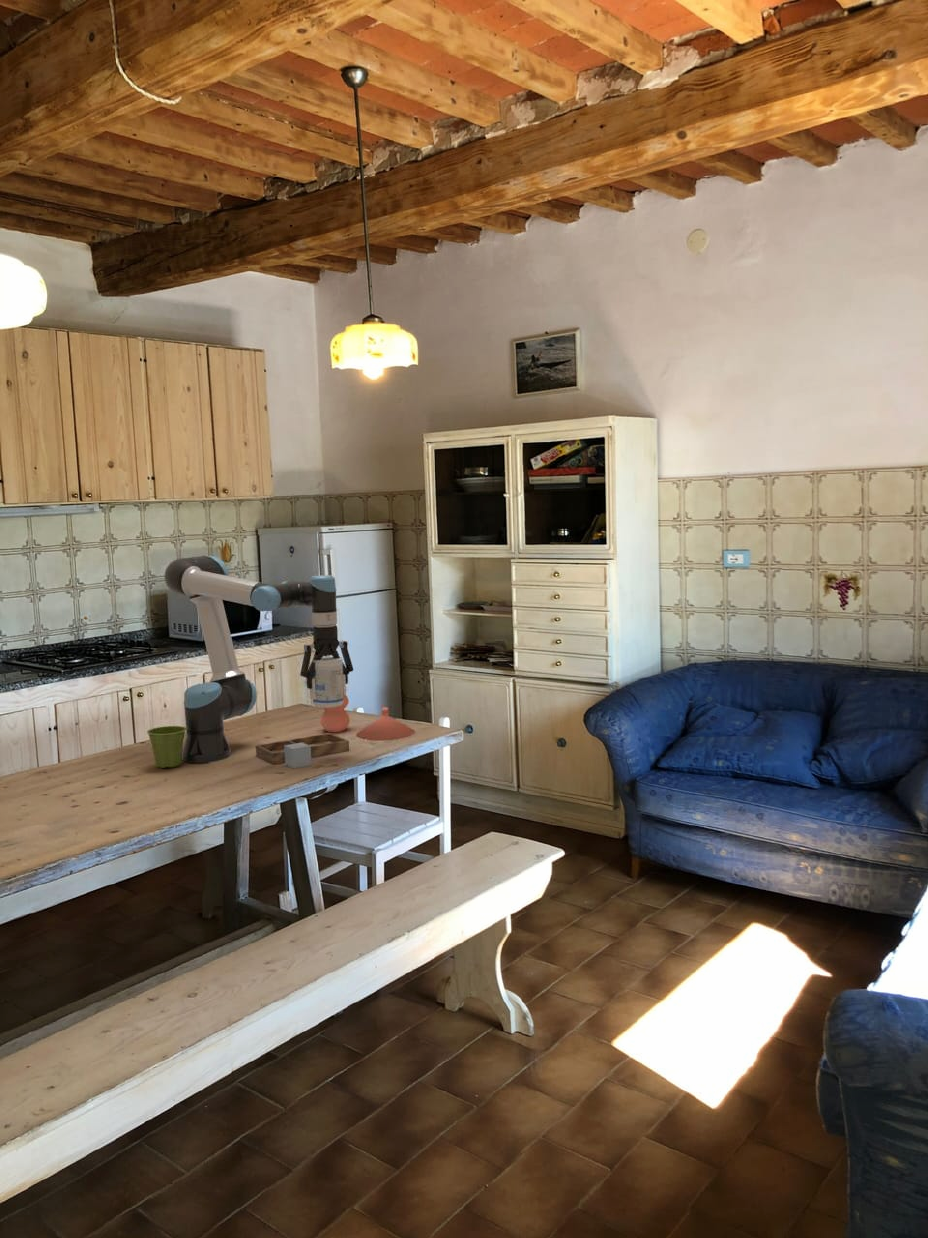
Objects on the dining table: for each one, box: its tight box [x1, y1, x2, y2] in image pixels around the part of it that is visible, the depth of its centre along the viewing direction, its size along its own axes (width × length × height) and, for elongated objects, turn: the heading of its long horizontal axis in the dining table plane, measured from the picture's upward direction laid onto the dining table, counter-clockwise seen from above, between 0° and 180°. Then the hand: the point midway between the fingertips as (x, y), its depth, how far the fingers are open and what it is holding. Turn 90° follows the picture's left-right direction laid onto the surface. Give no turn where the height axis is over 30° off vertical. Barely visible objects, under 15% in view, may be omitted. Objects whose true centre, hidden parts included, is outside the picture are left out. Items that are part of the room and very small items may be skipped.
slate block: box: [284, 742, 312, 769], centre depth 306 cm, size 6×6×6 cm
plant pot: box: [146, 725, 186, 769], centre depth 310 cm, size 12×12×11 cm
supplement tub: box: [311, 655, 344, 708], centre depth 311 cm, size 10×10×15 cm
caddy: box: [255, 732, 350, 765], centre depth 320 cm, size 26×14×3 cm, turn 123°
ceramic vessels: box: [320, 686, 416, 741], centre depth 345 cm, size 35×21×19 cm, turn 69°
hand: (328, 696), depth 312 cm, fingers closed on supplement tub, 10 cm apart
